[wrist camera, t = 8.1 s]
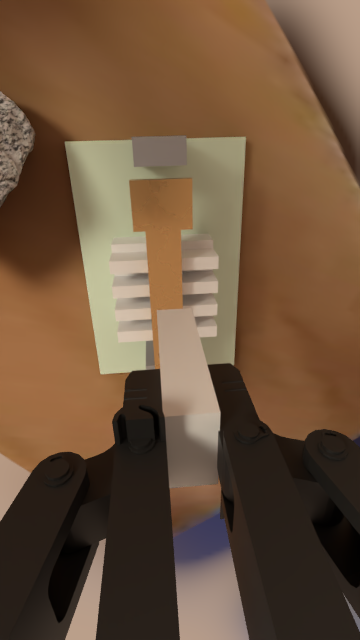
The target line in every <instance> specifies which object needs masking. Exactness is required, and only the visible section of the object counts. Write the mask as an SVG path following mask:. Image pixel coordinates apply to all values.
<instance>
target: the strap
mask: <svg viewBox="0 0 360 640" xmlns="http://www.w3.org/2000/svg"><path fill="white" fill-rule="evenodd" d="M129 186H130V198H131V209H132V221H133V232H144V231H145V233H146V247H147V261H148V276H149V290H150V304H151V319H152V333H153V347H154V362H155V369H160V357H159V340H158V323H157V310H168V309H183V295H182V252H181V230H190V229H193V199H192V178H191V177H190V178H161V179H132V180H129Z"/></svg>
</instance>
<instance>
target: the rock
mask: <svg viewBox="0 0 360 640" xmlns="http://www.w3.org/2000/svg"><path fill="white" fill-rule="evenodd" d="M35 135H36V134H35V132H34V129H33V128H32V126H31V124H30V121H29V120H28V118H27V117H26V115H25V114H24V113H23V112H22V111H21V109H20V108H19V107H18V106H17V105H16V103H15V102H14V101H12V100H11V99H9V98H8V97H7V96H6V95H4V94H3V93H2V92H0V207H1V206H2V204H3V203H4V202H5V200H6V197H7V195H8V194H9V193H10V192H11V191H12V190H13V189H14V188H15V187H16V186H17V184H18V181H19V175H20V173H21V171H22V167H23V165H24V162H25V160H26V157H27V156H28V154H29V153H30V152H31V151H33V146H34V140H35V137H34V136H35Z"/></svg>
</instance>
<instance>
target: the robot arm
mask: <svg viewBox="0 0 360 640" xmlns="http://www.w3.org/2000/svg"><path fill="white" fill-rule="evenodd" d="M157 323H158V340H159V357H160V369H150V370H136V371H132V372H131V373H130V375H129V376H128V377H127V379H126V381H125V392H124V402H123V408H121V409H120V410H119V411H118V412H117V413H116V414H115V416H114V418H113V421H112V424H113V431H114V437H115V444H114V445H113V446H112V447H111V448H110V449H108V450H107V451H105V452H103V453H101V454H99V455H97V456H94V457H91V458H88V459H85V460H84V459H83V458H82V457H81V456H80V455H79V454H76V453H72V452H60V453H57V454H54V455H51V456H49V457H47V458H46V459H44V460H43V461H41V462H40V463H39V464H38V465H37V466H36V468H35V469H34V470H33V471H32V473H31V474H30V476H29V477H28V479H27V481H26V482H25V484H24V486H23V487H22V489H21V490H20V492H19V493H18V495H17V496H16V498H15V500H14V501H13V503H12V504H11V506H10V508H9V509H8V511H7V512H6V514H5V515H4V517H3V518H2V520H1V521H0V640H65V638H66V635H67V633H68V630H69V627H70V624H71V621H72V618H73V615H74V613H75V610H76V607H77V604H78V601H79V598H80V596H81V593H82V590H83V587H84V584H85V582H86V579H87V576H88V573H89V570H90V567H91V565H92V561H93V559H94V556H95V553H96V550H97V547H98V545H99V541H101V540H103V539H105V538H106V545H105V555H104V566H103V575H102V584H101V594H100V604H99V614H98V624H97V633H96V640H180V636H179V621H178V606H177V592H176V577H175V563H174V548H173V533H172V518H171V504H170V489H169V488H178V487H189V486H200V485H211V484H218V475H219V479H220V484H221V508H220V519H224V518H225V523H226V528H227V533H228V538H229V543H230V547H231V552H232V557H233V562H234V567H235V571H236V577H237V581H238V586H239V591H240V596H241V601H242V606H243V611H244V616H245V621H246V625H247V630H248V635H249V640H360V632H359V629H358V627H357V625H356V623H355V620H354V618H353V616H352V613H351V611H350V609H349V607H348V604H347V602H346V600H345V597H346V598H347V600H348V601H349V603H350V604H351V606H352V607H353V609H354V611H355V612H356V613H357V615H358V617H359V618H360V447H359V446H358V445H357V444H356V443H355V442H354V441H352V440H351V439H349V438H348V437H347V436H345V435H343V434H341V433H338V432H336V431H332V430H326V429H322V430H315V431H313V432H311V433H310V434H308V436H307V438H306V439H305V441H301V440H296V439H290V438H285V437H281V436H279V435H276V434H274V433H273V432H272V431H271V430H270V428H269V427H268V426H267V425H266V424H265V423H263V422H262V421H260V420H259V417H258V415H257V413H256V410H255V408H254V405H253V403H252V401H251V398H250V396H249V393H248V391H247V390H246V386H245V384H244V382H243V379H242V376H241V374H240V371H239V370H238V369H237V368H235V367H234V366H233V365H232V364H231V363H223V364H209V365H207V362H206V358H205V355H204V351H203V347H202V344H201V340H200V337H199V333H198V329H197V326H196V322H195V319H194V315H193V311H192V308H185V309H168V310H157ZM342 592H343V593H342ZM343 594H344V595H345V597H344V595H343Z"/></svg>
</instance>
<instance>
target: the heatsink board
mask: <svg viewBox="0 0 360 640" xmlns="http://www.w3.org/2000/svg"><path fill="white" fill-rule="evenodd" d="M245 146H246V137H216V138H186V135H185V136H147V137H132V140H105V141H68V142H65V148H66V154H67V160H68V167H69V173H70V180H71V186H72V193H73V199H74V206H75V212H76V218H77V225H78V231H79V238H80V244H81V251H82V257H83V264H84V270H85V276H86V283H87V289H88V296H89V302H90V309H91V315H92V322H93V328H94V335H95V341H96V347H97V354H98V360H99V367H100V373H101V374H111V373H126V372H132V371H136V370H150V369H155V362H154V347H153V333H152V319H151V304H150V290H149V276H148V261H147V247H146V233H145V231H144V232H133V221H132V209H131V198H130V186H129V180H132V179H161V178H190V177H191V178H192V199H193V229H190V230H181V252H182V295H183V309H185V308H192V311H193V315H194V319H195V322H196V326H197V329H198V333H199V337H200V340H201V344H202V347H203V351H204V355H205V358H206V362H207V365H209V364H223V363H231V364H232V365H234V356H235V337H236V318H237V299H238V280H239V261H240V242H241V223H242V203H243V184H244V165H245Z"/></svg>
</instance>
